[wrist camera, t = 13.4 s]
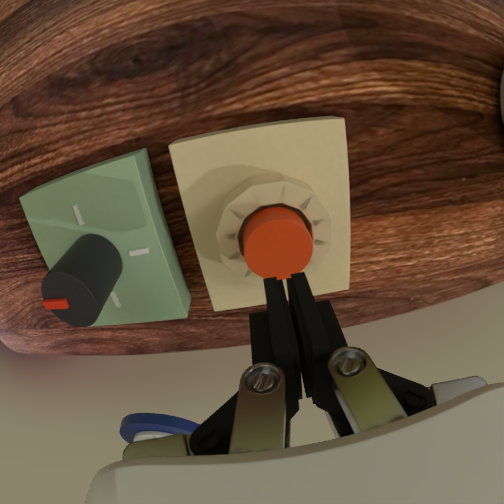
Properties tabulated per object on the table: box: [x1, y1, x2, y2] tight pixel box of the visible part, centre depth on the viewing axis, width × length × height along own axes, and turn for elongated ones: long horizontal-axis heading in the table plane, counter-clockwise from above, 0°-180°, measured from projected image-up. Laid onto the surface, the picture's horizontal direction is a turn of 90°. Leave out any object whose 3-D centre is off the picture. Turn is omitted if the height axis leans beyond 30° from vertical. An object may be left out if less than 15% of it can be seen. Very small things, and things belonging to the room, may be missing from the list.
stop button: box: [243, 207, 313, 280], centre depth 16 cm, size 4×4×2 cm
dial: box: [41, 234, 123, 327], centre depth 16 cm, size 4×4×5 cm
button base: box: [168, 116, 350, 311], centre depth 18 cm, size 12×10×4 cm
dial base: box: [20, 148, 191, 327], centre depth 19 cm, size 12×10×3 cm
